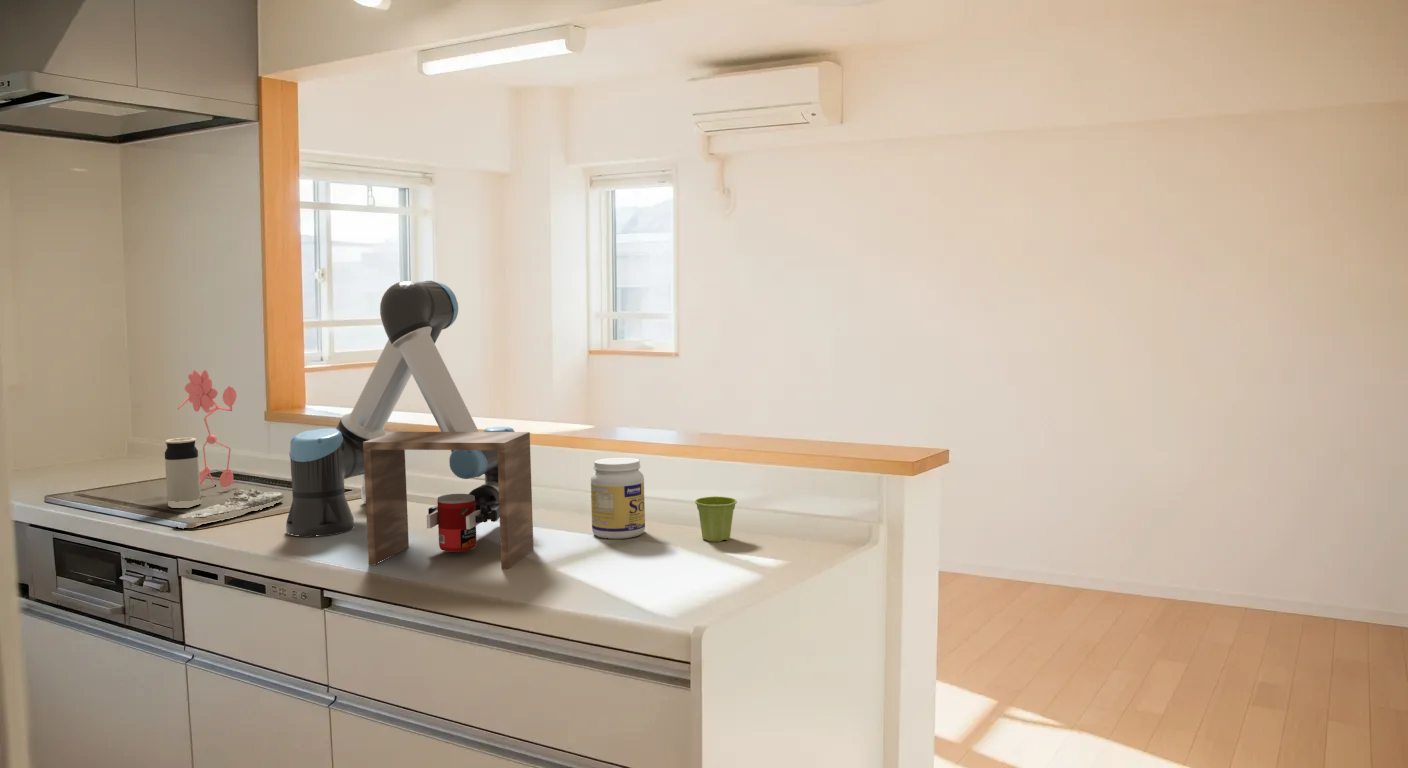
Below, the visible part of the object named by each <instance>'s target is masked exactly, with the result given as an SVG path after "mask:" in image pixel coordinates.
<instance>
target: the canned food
mask: <svg viewBox="0 0 1408 768" xmlns="http://www.w3.org/2000/svg"><path fill="white" fill-rule="evenodd" d="M436 500H437V501H436V502H437V505H438V527H437V528H438V530H437V531H438V546H439V549H440V550H442V551H443V552H449V553H454V552H455V553H458V552H459V553H460V552H466V551H471V550H473V549H475V548H476V546H477V525H476V526H475V527H473V528H471V529H466V516H468V515H470V514H471V513H473V512H475V511H476V508H475V496H474V495H471V494H469V493H451V494H449V493H448V494H443V495H440V496H438V497H437V499H436Z"/></svg>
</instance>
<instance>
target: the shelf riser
mask: <svg viewBox="0 0 1408 768" xmlns="http://www.w3.org/2000/svg"><path fill="white" fill-rule="evenodd" d="M406 450H410V451H411V450H412V451H413V450H414V451H425V450H426V451H451V450H497V457H498V485H499V513H500V517H499V535H500V536H499V537H500V539H499V540H500V562H501V564H500V567H501V569H510V568H511V567H512V566H514V565H515V564H517V563H518V562H520V560H522V559H523V558H525V557H526V556H527V555H528V554H529V553H531V552H532V551H534V528H533V527H534V526H533V525H534V523H533V522H534V521H533V497H532V496H533V494H532V491H533V490H532V464H531V461H532V460H531V459H532V457H531V432H530V431H514V432H484V431H479V432H441V431H394V432H392V433H388V434H386V435H385V436H381V437H378V438H375V439H372V440H368V441H365V442H363V452H364V473H365V495H366V503H365V511H366V513H365V515H366V531H367V533H366V534H367V555H368V556H367V557H368V565H369V564H377V563H378V562H380V561H382V560H384V559H386V558H388V557H389V558H391V557H393V556H395V555H397V554H398V553H400V552H402V551H403V550H406V549H407V548H409V546H410V544H409V543H410V542H409V541H410V540H409V521H408V497H407V495H408V494H407V476H406V475H407V473H406V471H407V469H406ZM396 553H397V554H396ZM394 554H395V555H394ZM392 555H393V556H392ZM390 556H391V557H390ZM389 558H388V559H389ZM386 560H387V559H386ZM384 561H385V560H384ZM382 562H383V561H382ZM380 563H381V562H380ZM377 565H378V564H377Z"/></svg>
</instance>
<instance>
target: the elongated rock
mask: <svg viewBox="0 0 1408 768" xmlns="http://www.w3.org/2000/svg"><path fill="white" fill-rule="evenodd" d="M282 498H283V499H284V494H283V493H282V492H280V491H262V490H257V489H254V488H250V489H246V490H244V489H243V488H240V489H236V491H234V493H233V495H232V496H230V497H228V498H227V499H225V501H223V502H222V503H219V504H214V505H210V506H207V507H204V508H201V509H197V510H193V511H189V512H186V513H182V514H178V515H177V517H179V518H187V517H189V518H194V517H207V516H212V515H218V514H224V513H229V512H233V511H238V510H239V511H240V510H244V509H248V508H251V507H255V506H259V505H264V504H267V503H270V502H273V501H278V500H280V499H282Z"/></svg>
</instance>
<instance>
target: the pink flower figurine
mask: <svg viewBox="0 0 1408 768" xmlns="http://www.w3.org/2000/svg"><path fill="white" fill-rule="evenodd" d="M187 376H188V380H189V382H188V383H187V384H185V386H184V391H185V392H186V393H188V396H187V397H186V398H185V399H184V400H183V401H182V402H181V404H180V405H179V406H178V407H177V410H179V409H180V408H181V407H182V406H184V405H185V404H187V402H189V403H191V404H192V407H193V410H194V412H199V411H200V409H202V410H203V412H205V413H207V414H206V415H205V416H204V418H203V421H204V424H205V427H206V430H207V433H208V435H207V436H206V441H205V443H203V446H202V452H203V459H204V468H203V469H202V471H200V472H199V477H200V485H202V484H203V483H204V481H205V480H206V478H208V477H209V479H210V480H211V482H212V483H213V482H215V480H214V478H213V476H212V475H211V473H210V470H211V468H210V466H207V461H206V460H207V459H206V452H205V450H206V449H205V447H206V445H207V444H209V445H210V444H211V445H214V444H218V445H220V446H221V447H224V448H226V449H228V455H227V463H226V464H227V466H226V469H225V470H222V473H221V474H220V476H219V484H220V486H221V488H222V487H227V486H229V487H230V486H231V485H233V484H235V485H236V483H235V481H234V473H233V471H232V470H231V469H229V465H230V456H231V451H232V450H231V447H229V446H228V445H227V446H226V445H224V444H222V443H220V442H218V441H217V440H218V439H217V436H216V435H215V434H211V432H210V428H209V425H208V422H207V418H208V417H209V416H211V415H213V413H215V412H217V410H218V411H219V410H221V411H222V410H223V411H228V412H233V405H234V404H235V402H236V399H237V391H236V390H235V388H234V387H231V385H228V386H227V388H225V389H224V391H223V394H222V401H223V403H224V404H225V405H226V406H227V407H228V408H226V407H221V406H219V405H218V404H217V403H216V402H215V400H214V399H216V398H217V396H218V390H217V389H215V388H214V387H212V386H213V381H212V379H211V378H210V375H209V373H208V371H207V369H206V370H205V369H204V370H203V371H202V373H199V372H198V371H197V370H196V369H194V370H193V371H192V373H189V374H188V375H187ZM214 406H215V407H214ZM213 407H214V408H213ZM211 408H212V409H211ZM201 483H202V484H201Z"/></svg>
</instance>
